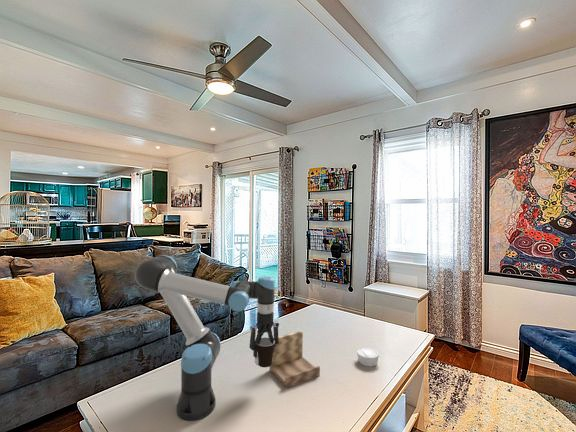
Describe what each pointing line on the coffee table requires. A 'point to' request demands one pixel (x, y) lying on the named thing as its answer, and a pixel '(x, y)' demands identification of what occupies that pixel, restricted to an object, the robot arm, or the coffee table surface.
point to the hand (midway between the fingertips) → (263, 361)
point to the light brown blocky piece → (292, 361)
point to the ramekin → (368, 356)
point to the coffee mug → (265, 352)
